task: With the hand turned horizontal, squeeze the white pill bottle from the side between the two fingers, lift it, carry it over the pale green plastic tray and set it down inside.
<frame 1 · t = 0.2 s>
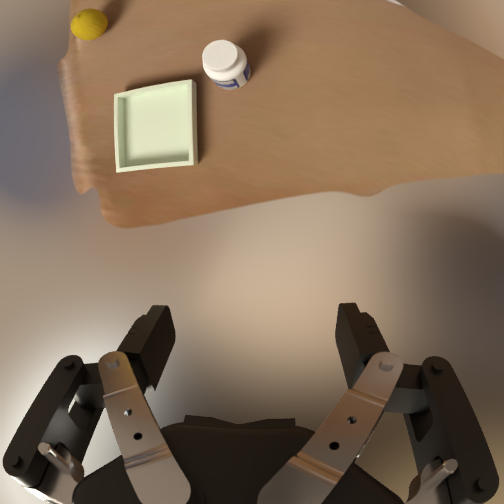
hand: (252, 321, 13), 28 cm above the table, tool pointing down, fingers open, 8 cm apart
lemon: (102, 31, 31), on the table
tray: (157, 127, 36), on the table
pill bottle: (231, 74, 33), on the table
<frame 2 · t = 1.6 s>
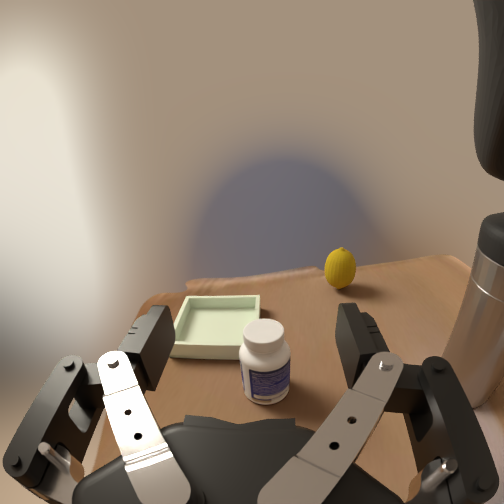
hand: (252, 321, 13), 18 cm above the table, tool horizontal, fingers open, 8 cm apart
lemon: (338, 289, 49), on the table
tray: (218, 331, 40), on the table
pill bottle: (266, 389, 30), on the table
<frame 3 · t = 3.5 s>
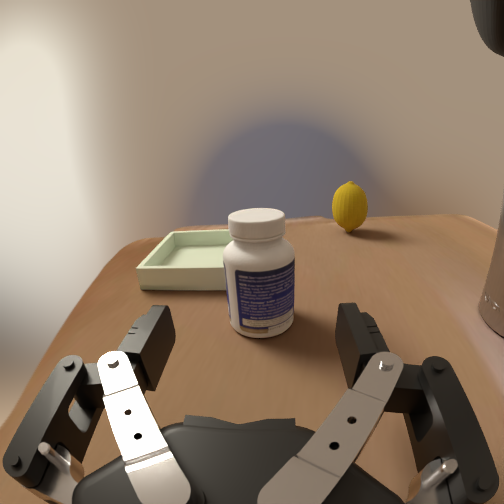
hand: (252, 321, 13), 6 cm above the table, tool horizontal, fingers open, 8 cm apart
lemon: (348, 233, 43), on the table
tray: (205, 265, 34), on the table
pill bottle: (261, 321, 23), on the table
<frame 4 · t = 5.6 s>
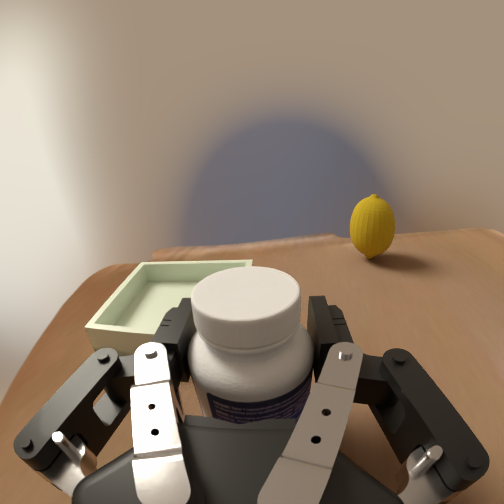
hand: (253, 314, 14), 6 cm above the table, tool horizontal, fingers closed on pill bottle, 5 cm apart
lemon: (369, 260, 33), on the table
tray: (182, 314, 24), on the table
pill bottle: (256, 427, 14), on the table, touching gripper
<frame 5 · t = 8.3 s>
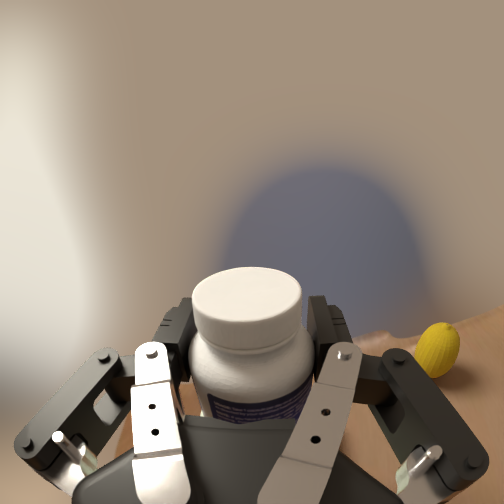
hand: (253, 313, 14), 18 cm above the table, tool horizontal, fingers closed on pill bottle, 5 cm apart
lemon: (426, 376, 28), on the table
pill bottle: (256, 428, 13), point 11 cm above the table, touching gripper
when the fingers open (8 cm above the table, at t = 10.8 s): pill bottle drops 1 cm, resting on tray.
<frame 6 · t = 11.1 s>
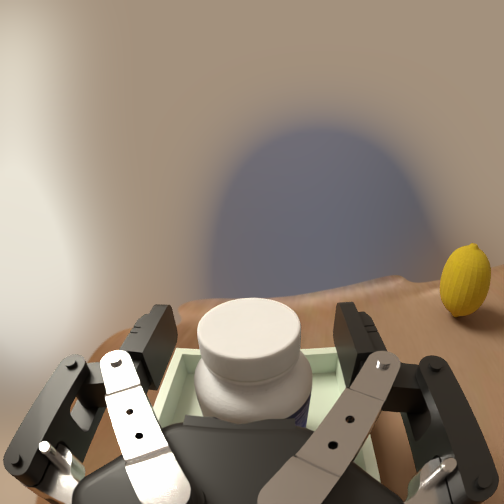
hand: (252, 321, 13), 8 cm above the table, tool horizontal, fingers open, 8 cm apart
lemon: (454, 318, 23), on the table
tray: (257, 441, 14), on the table
pill bottle: (258, 441, 14), resting on tray
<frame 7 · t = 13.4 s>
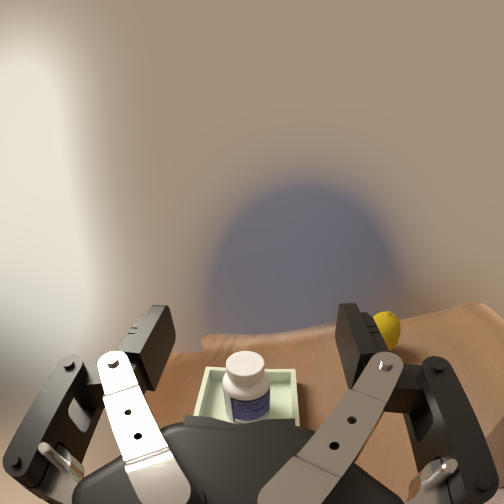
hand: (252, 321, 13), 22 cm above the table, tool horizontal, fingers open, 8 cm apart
lemon: (376, 354, 40), on the table
tray: (247, 413, 31), on the table
pill bottle: (248, 413, 31), resting on tray
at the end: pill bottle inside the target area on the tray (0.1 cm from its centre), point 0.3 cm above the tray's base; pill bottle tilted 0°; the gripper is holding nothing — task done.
